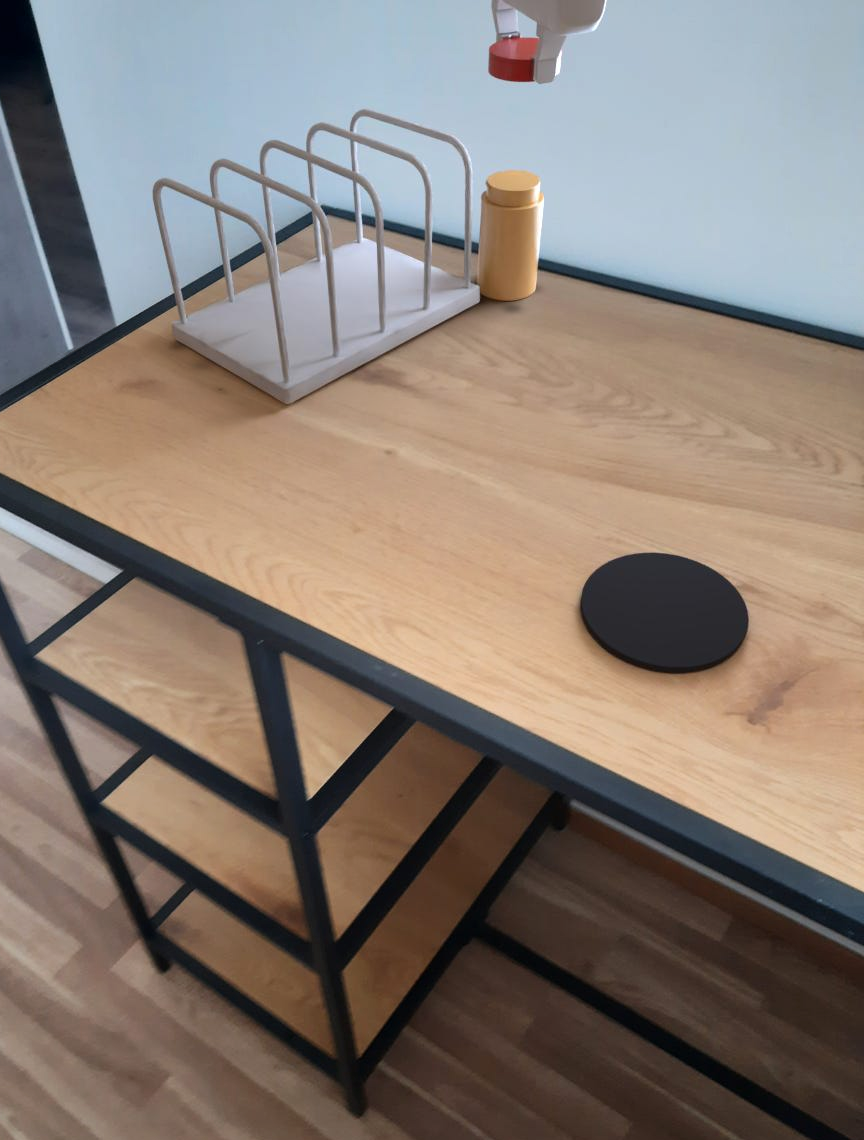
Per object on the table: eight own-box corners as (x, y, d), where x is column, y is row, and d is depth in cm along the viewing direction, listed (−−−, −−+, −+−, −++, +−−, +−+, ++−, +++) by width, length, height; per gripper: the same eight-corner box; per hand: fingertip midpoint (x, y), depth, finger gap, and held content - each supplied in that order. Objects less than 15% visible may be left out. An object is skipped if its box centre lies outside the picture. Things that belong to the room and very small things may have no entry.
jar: (520, 269, 98) (528, 164, 91) (545, 294, 95) (556, 186, 87) (467, 279, 97) (471, 173, 90) (491, 305, 93) (497, 197, 86)
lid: (482, 81, 80) (483, 58, 79) (493, 58, 84) (494, 36, 83) (556, 83, 79) (558, 60, 78) (563, 60, 83) (565, 38, 82)
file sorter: (362, 253, 102) (354, 94, 91) (481, 306, 93) (489, 138, 82) (172, 339, 91) (136, 170, 79) (287, 409, 82) (266, 229, 70)
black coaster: (693, 544, 68) (695, 538, 68) (780, 650, 61) (782, 644, 60) (553, 578, 66) (554, 571, 66) (626, 691, 59) (627, 685, 58)
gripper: (452, -151, 78) (449, 41, 88) (554, -113, 64) (537, 109, 74) (522, -158, 79) (512, 33, 89) (637, -121, 65) (610, 98, 75)
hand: (524, 68), depth 81 cm, fingers closed on lid, 6 cm apart
